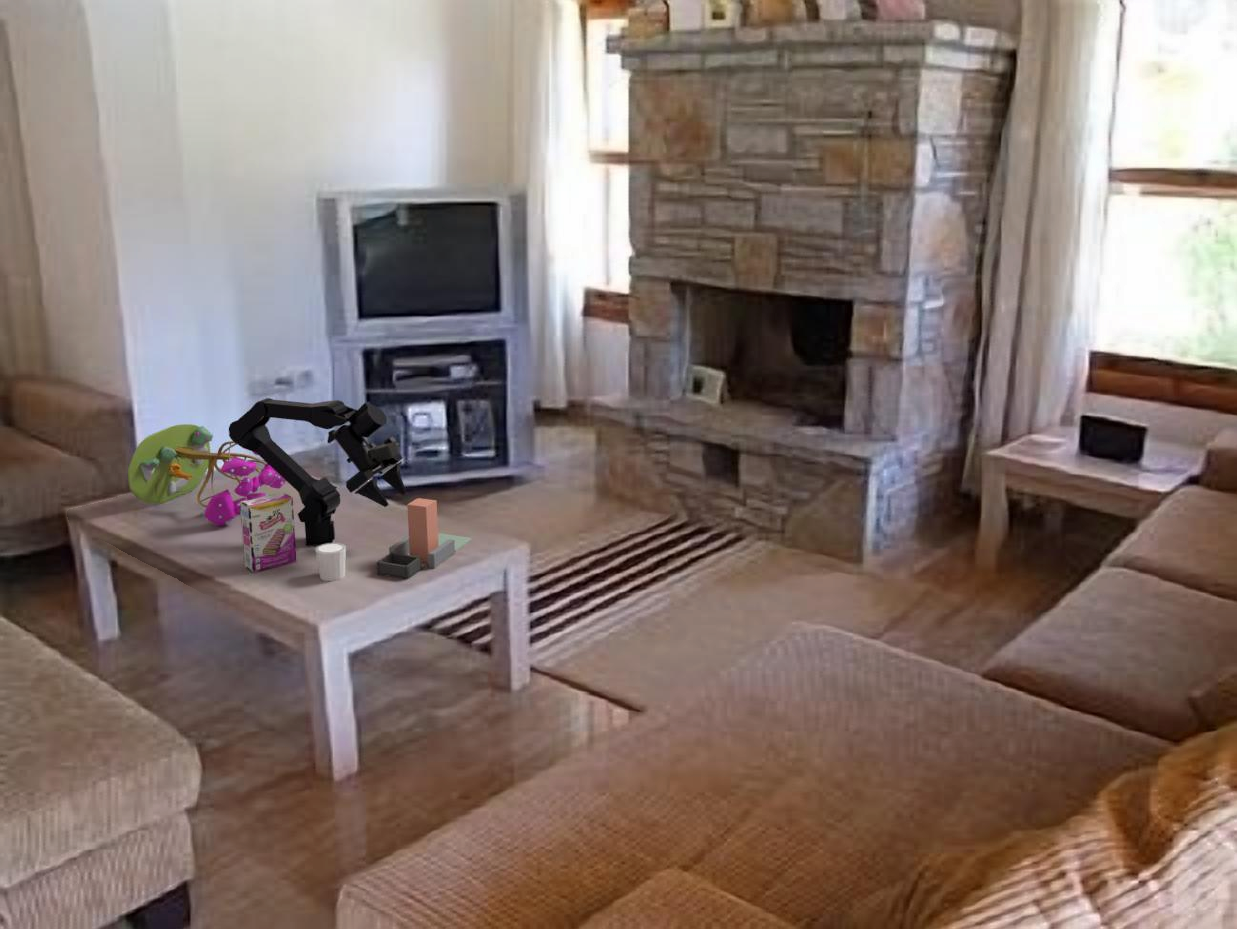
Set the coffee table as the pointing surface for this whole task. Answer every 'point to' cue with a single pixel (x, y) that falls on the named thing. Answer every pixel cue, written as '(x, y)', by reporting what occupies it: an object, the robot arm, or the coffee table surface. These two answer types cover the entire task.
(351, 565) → the coffee table surface
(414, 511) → the salmon-pink block
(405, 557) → the dark grey open box
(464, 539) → the sage mat
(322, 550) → the white cup
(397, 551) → the grey parallel walls
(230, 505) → the lily pad toy
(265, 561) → the candy bar box
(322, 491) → the robot arm
